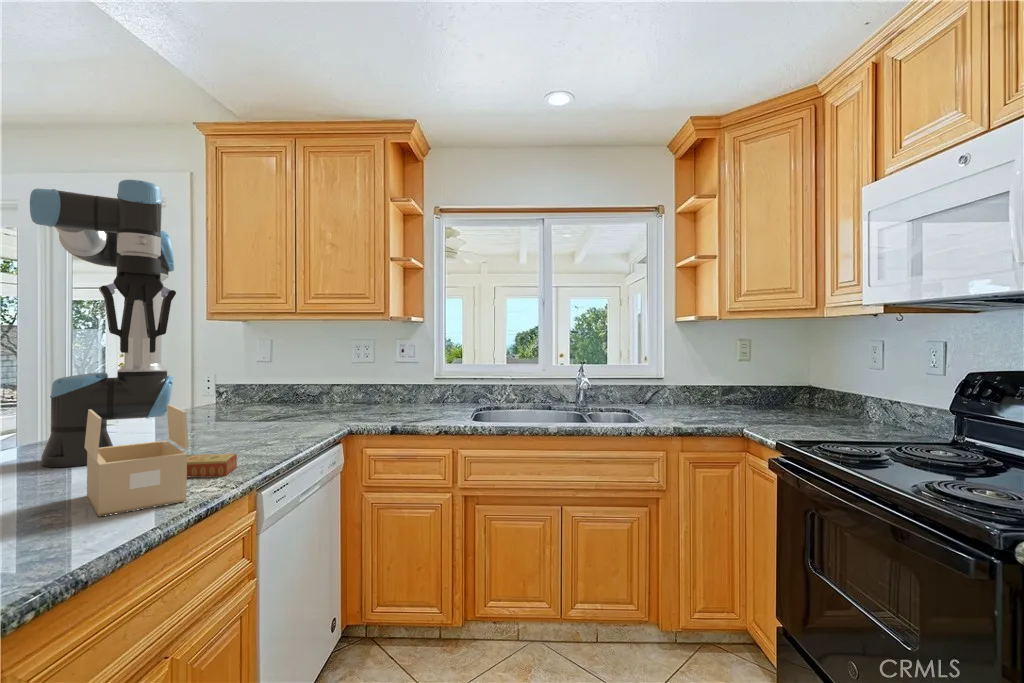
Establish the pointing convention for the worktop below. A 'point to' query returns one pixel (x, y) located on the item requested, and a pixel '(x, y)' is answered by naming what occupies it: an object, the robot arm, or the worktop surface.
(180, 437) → the far flap
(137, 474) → the cardboard box
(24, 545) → the worktop surface
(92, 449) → the near flap
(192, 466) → the carton
